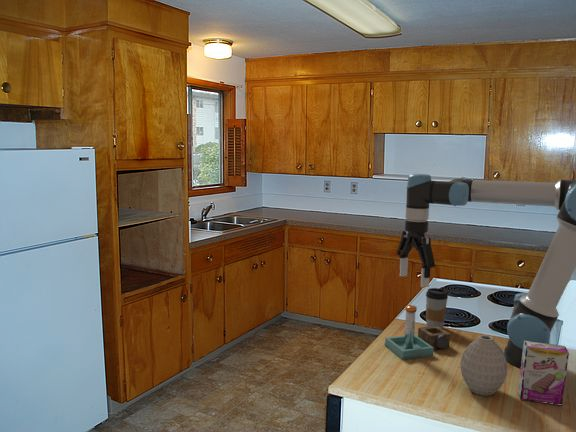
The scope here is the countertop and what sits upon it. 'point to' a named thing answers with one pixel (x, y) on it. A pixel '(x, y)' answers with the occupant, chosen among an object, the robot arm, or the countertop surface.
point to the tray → (418, 349)
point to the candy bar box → (543, 372)
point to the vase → (484, 366)
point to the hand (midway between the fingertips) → (413, 281)
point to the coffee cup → (436, 307)
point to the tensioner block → (434, 336)
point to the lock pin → (409, 326)
